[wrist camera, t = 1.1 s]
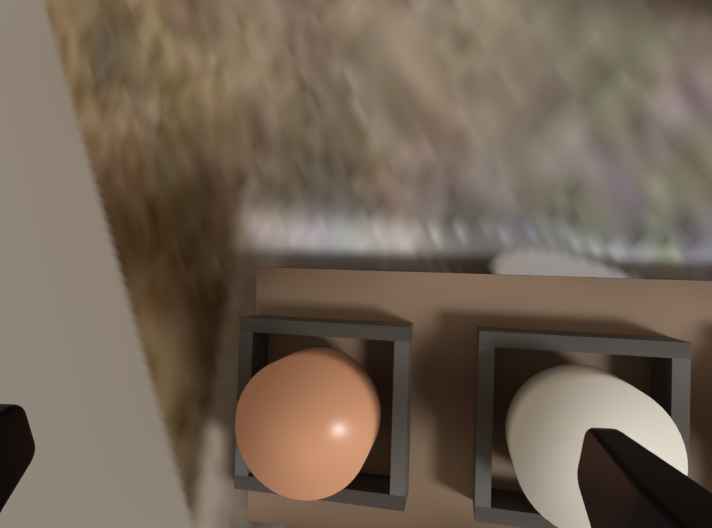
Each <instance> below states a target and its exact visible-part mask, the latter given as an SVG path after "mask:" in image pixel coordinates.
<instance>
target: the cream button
mask: <svg viewBox="0 0 712 528" xmlns="http://www.w3.org/2000/svg"><path fill="white" fill-rule="evenodd" d="M590 428H612V429H617V430H619V431H621V432H622V433H624V434H625V435H627V436H628V437H630V438H631V439H633V440H634V441H636V442H637V443H639V444H640V445H642V446H643V447H645V448H646V449H648V450H649V451H651V452H652V453H654V454H655V455H657V456H658V457H660V458H661V459H663V460H664V461H666V462H667V463H668V464H670V465H671V466H673V467H674V468H676V469H677V470H679V471H680V472H682V473H683V474H685V475H686V476H687V475H688V460H687V453H686V448H685V445H684V442H683V439H682V436H681V434H680V432H679V430H678V428H677V426H676V425H675V423H674V422H673V420H672V419H671V417H670V416H669V415H668V414H667V413H666V411H665V410H664V409H663V408H662V407H661V406H660V405H659V404H658V403H656V402H655V401H654V400H653V399H652V398H650V397H649V396H647V395H646V394H644V393H643V392H641V391H640V390H638V389H636V388H635V387H633V386H631V385H630V384H628V383H627V382H625V381H623V380H622V379H620V378H618V377H617V376H615V375H613V374H611V373H609V372H607V371H605V370H602V369H600V368H597V367H593V366H589V365H582V364H565V365H558V366H554V367H550V368H548V369H545V370H543V371H541V372H539V373H537V374H535V375H533V376H532V377H531V378H529V379H528V380H527V381H526V382H525V383H524V384H523V385H522V386H521V387H520V388H519V389H518V391H517V392H516V393H515V395H514V397H513V398H512V400H511V402H510V405H509V407H508V410H507V415H506V420H505V437H506V442H507V446H508V450H509V453H510V456H511V459H512V462H513V466H514V469H515V472H516V475H517V478H518V482H519V484H520V486H521V488H522V490H523V492H524V494H525V495H526V497H527V499H528V500H529V502H530V503H531V504H532V505H533V507H534V508H535V509H536V510H537V511H538V512H539V513H540V514H541V515H542V516H543V517H544V518H545V519H547V520H548V521H549V522H550V523H552V524H553V525H555V526H556V527H558V528H591V526H590V522H589V519H588V516H587V512H586V509H585V506H584V502H583V499H582V496H581V492H580V489H579V485H578V479H577V470H578V464H579V460H580V455H581V450H582V445H583V440H584V435H585V433H586V431H587V430H588V429H590Z"/></svg>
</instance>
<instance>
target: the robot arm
mask: <svg viewBox="0 0 712 528" xmlns="http://www.w3.org/2000/svg"><path fill="white" fill-rule="evenodd" d="M34 452H35V443H34V440H33V436H32V433H31V429H30V426H29V423H28V419H27V416H26V413H25V411H24V410H23V408H22V407H20V406H18V405H14V404H0V512H1V510H2V508H3V507H4V505H5V504H6V502H7V500H8V499H9V497H10V495H11V494H12V492H13V490H14V489H15V487H16V486H17V484H18V482H19V481H20V479H21V477H22V476H23V474H24V472H25V471H26V469H27V468H28V466H29V464H30V463H31V461H32V459H33V456H34ZM577 479H578V485H579V489H580V492H581V496H582V499H583V502H584V506H585V509H586V512H587V516H588V519H589V522H590V526H591V528H712V492H710V491H709V490H707V489H706V488H704V487H703V486H701V485H700V484H698V483H697V482H695V481H694V480H692V479H691V478H689V477H688V476H686V475H685V474H683V473H682V472H680V471H679V470H677V469H676V468H674V467H673V466H671V465H670V464H668V463H667V462H666V461H664V460H663V459H661V458H660V457H658V456H657V455H655V454H654V453H652V452H651V451H649V450H648V449H646V448H645V447H643V446H642V445H640V444H639V443H637V442H636V441H634V440H633V439H631V438H630V437H628V436H627V435H625V434H624V433H622V432H621V431H619V430H617V429H612V428H590V429H588V430H587V431H586V433H585V435H584V440H583V445H582V450H581V455H580V460H579V464H578V470H577Z"/></svg>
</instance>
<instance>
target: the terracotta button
mask: <svg viewBox="0 0 712 528" xmlns="http://www.w3.org/2000/svg"><path fill="white" fill-rule="evenodd" d="M380 424H381V402H380V397H379V394H378V390H377V388H376V386H375V383H374V381H373V380H372V378H371V376H370V375H369V373H368V372H367V371H366V370H365V368H364V367H363V366H362V365H361V364H360V363H359V362H357V361H356V360H355V359H354V358H352V357H351V356H349V355H347V354H345V353H343V352H341V351H338V350H335V349H331V348H325V347H312V348H306V349H303V350H299V351H297V352H295V353H293V354H290V355H288V356H286V357H284V358H282V359H280V360H278V361H275V362H273V363H271V364H269V365H267V366H266V367H264V368H263V369H261V370H260V371H259V372H258V373H257V374H255V375H254V377H253V378H252V379H251V380H250V381H249V382H248V384H247V385H246V387H245V388H244V390H243V392H242V394H241V396H240V399H239V402H238V405H237V410H236V416H235V433H236V440H237V444H238V447H239V450H240V453H241V455H242V458H243V460H244V461H245V463H246V465H247V467H248V468H249V470H250V471H251V472H252V474H253V475H254V476H255V477H256V478H257V479H258V480H259V481H260V482H261V483H262V484H263V485H264V486H266V487H267V488H269V489H270V490H272V491H273V492H275V493H277V494H279V495H282V496H284V497H287V498H291V499H296V500H305V501H309V500H318V499H323V498H326V497H329V496H331V495H334V494H335V493H337V492H339V491H341V490H342V489H343V488H345V487H346V486H347V485H348V484H349V483H350V482H351V481H352V480H353V479H354V478H355V477H356V475H357V474H358V473H359V471H360V469H361V468H362V466H363V464H364V462H365V460H366V458H367V456H368V454H369V452H370V450H371V448H372V446H373V444H374V442H375V440H376V437H377V435H378V432H379V428H380Z"/></svg>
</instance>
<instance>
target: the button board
mask: <svg viewBox="0 0 712 528" xmlns="http://www.w3.org/2000/svg"><path fill="white" fill-rule="evenodd" d="M312 347H325V348H331V349H335V350H338V351H341V352H343V353H345V354H347V355H349V356H351V357H352V358H354V359H355V360H356V361H357V362H359V363H360V364H361V365H362V366H363V367H364V368H365V370H366V371H367V372H368V373H369V375H370V376H371V378H372V380H373V381H374V383H375V386H376V388H377V390H378V394H379V397H380V402H381V424H380V428H379V432H378V435H377V437H376V440H375V442H374V444H373V446H372V448H371V450H370V452H369V454H368V456H367V458H366V460H365V462H364V464H363V466H362V468H361V469H360V471H359V473H358V474H357V475H356V477H355V478H354V479H353V480H352V481H351V482H350V483H349V484H348V485H347V486H346V487H345V488H343V489H342V490H341V491H339V492H337V493H335V494H334V495H331V496H329V497H326V498H323V499H318V500H309V501H305V500H296V499H291V498H287V497H284V496H282V495H279V494H277V493H275V492H273V491H272V490H270V489H269V488H267V487H266V486H264V485H263V484H262V483H261V482H260V481H259V480H258V479H257V478H256V477H255V476H254V475H253V474H252V472H251V471H250V470H249V468H248V467H247V465H246V463H245V461H244V460H243V458H242V455H241V453H240V450H239V447H238V444H237V440H236V450H235V476H234V488H235V489H242V490H248V515H247V520H250V521H257V522H263V523H270V524H277V525H283V526H290V527H297V528H558V527H556V526H555V525H553V524H552V523H550V522H549V521H548V520H547V519H545V518H544V517H543V516H542V515H541V514H540V513H539V512H538V511H537V510H536V509H535V508H534V507H533V505H532V504H531V503H530V502H529V500H528V499H527V497H526V495H525V494H524V492H523V490H522V488H521V486H520V484H519V482H518V478H517V475H516V472H515V469H514V466H513V462H512V459H511V456H510V453H509V450H508V446H507V442H506V437H505V420H506V415H507V410H508V407H509V405H510V402H511V400H512V398H513V397H514V395H515V393H516V392H517V391H518V389H519V388H520V387H521V386H522V385H523V384H524V383H525V382H526V381H527V380H528V379H529V378H531V377H532V376H533V375H535V374H537V373H539V372H541V371H543V370H545V369H548V368H550V367H554V366H558V365H565V364H582V365H589V366H593V367H597V368H600V369H602V370H605V371H607V372H609V373H611V374H613V375H615V376H617V377H618V378H620V379H622V380H623V381H625V382H627V383H628V384H630V385H631V386H633V387H635V388H636V389H638V390H640V391H641V392H643V393H644V394H646V395H647V396H649V397H650V398H652V399H653V400H654V401H655V402H656V403H658V404H659V405H660V406H661V407H662V408H663V409H664V410H665V411H666V413H667V414H668V415H669V416H670V417H671V419H672V420H673V422H674V423H675V425H676V426H677V428H678V430H679V432H680V434H681V436H682V439H683V442H684V445H685V448H686V453H687V460H688V475H687V476H688V477H689V478H691V479H692V480H694V481H695V482H697V483H698V484H700V485H701V486H703V487H704V488H706V489H707V490H709V491H710V492H712V281H695V280H662V279H629V278H597V277H595V278H594V277H564V276H529V275H499V274H466V273H433V272H401V271H368V270H335V269H303V268H270V267H257V276H256V303H255V315H254V316H248V317H243V318H241V320H240V346H239V372H238V398H237V405H238V402H239V399H240V396H241V394H242V392H243V390H244V388H245V387H246V385H247V384H248V382H249V381H250V380H251V379H252V378H253V377H254V375H255V374H257V373H258V372H259V371H260V370H261V369H263V368H264V367H266V366H267V365H269V364H271V363H273V362H275V361H278V360H280V359H282V358H284V357H286V356H288V355H290V354H293V353H295V352H297V351H299V350H303V349H306V348H312Z"/></svg>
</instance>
